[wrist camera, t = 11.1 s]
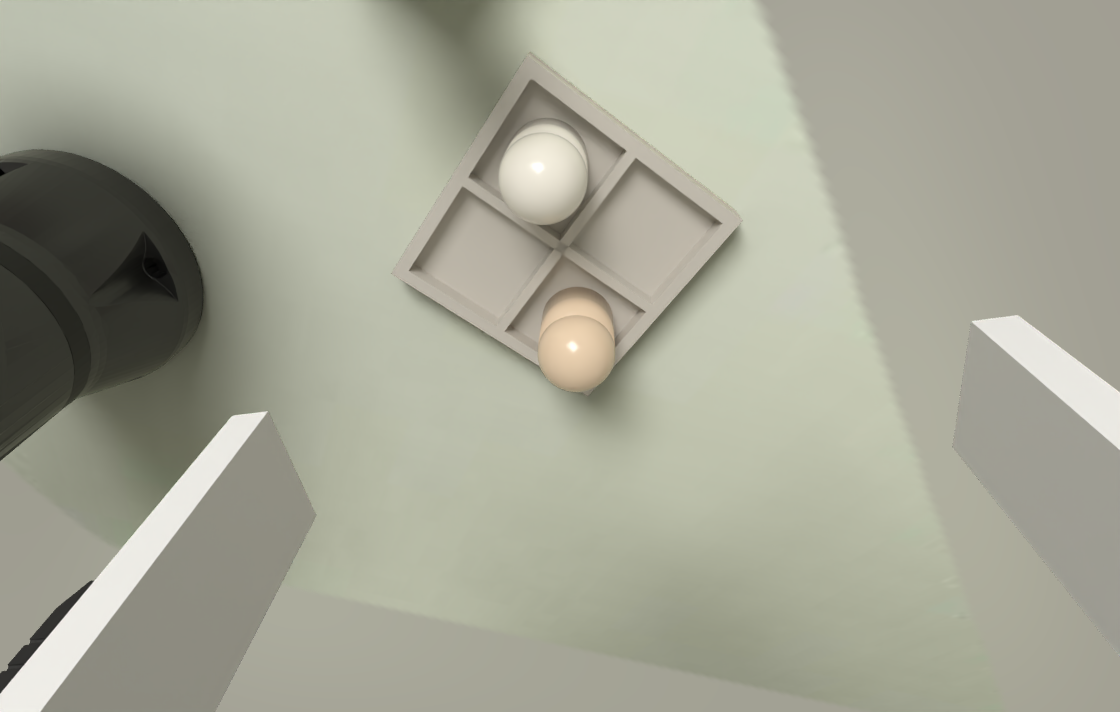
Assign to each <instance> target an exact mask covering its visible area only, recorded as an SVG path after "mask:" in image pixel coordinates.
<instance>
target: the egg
mask: <svg viewBox="0 0 1120 712" xmlns="http://www.w3.org/2000/svg"><path fill="white" fill-rule="evenodd" d="M615 353H616V352H615V339H614V326H613V314H612V310H611V307H610V305H609V303H608V302H607V301H606V299H605V298H604V297H603V296H602V295H600V294H599V293H597V292H596V291H594V290H592V289H589V288H584V287H570V288H566V289H563V290H561V291H559V292H557V293H556V294H554V295H553V296H552V297H551V298H550V299H549V300H548V302H547V303H546V305H545V307H544V310H543V314H542V321H541V328H540V335H539V343H538V362H539V365H540V368H541V370H542V372H543V374H544V375H545V377H546V378H547V379H548V380H549V381H550V382H551V383H552V384H554V385H555V386H556V387H558V388H560V389H563V390H566V391H570V392H583V391H587V390H590V389H593V388H595V387H596V386H598V385H599V384H601V383H602V382H603V381H604V380H605V379H606V378H607V377H608V375H609V374H610V372H611V370H612V368H613V365H614V362H615Z"/></svg>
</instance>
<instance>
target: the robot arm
mask: <svg viewBox="0 0 1120 712" xmlns="http://www.w3.org/2000/svg"><path fill="white" fill-rule="evenodd" d="M202 306H203V289H202V282H201V277H200V272H199V269H198V266H197V263H196V260H195V258H194V255H193V253H192V251H191V249H190V247H189V245H188V243H187V241H186V239H185V238H184V236H183V234H182V233H181V231H180V230H179V228H178V227H177V225H176V224H175V223H174V221H173V220H172V219H171V218H170V216H169V215H168V214H167V213H166V212H165V211H164V210H163V208H162V207H161V206H160V205H159V204H158V203H157V202H156V201H155V200H154V199H153V198H151V197H150V196H149V195H148V194H147V193H146V192H145V191H143V190H142V189H141V188H140V187H138V186H137V185H136V184H134V183H133V182H132V181H130V180H129V179H127V178H126V177H124V176H122V175H121V174H119V173H118V172H116V171H114V170H112V169H110V168H108V167H106V166H104V165H102V164H100V163H98V162H95V161H93V160H90V159H88V158H85V157H82V156H79V155H75V154H71V153H67V152H62V151H55V150H43V149H41V150H24V151H19V152H14V153H11V154H7V155H4V156H0V461H1V460H2V459H3V458H4V457H6V456H7V455H8V454H9V453H10V452H12V451H13V450H14V449H15V448H16V447H18V446H19V445H20V444H21V443H22V442H24V441H25V440H26V439H27V438H28V437H30V436H31V435H32V434H33V433H34V432H36V431H37V430H38V429H39V428H40V427H42V426H43V425H44V424H45V423H46V422H48V421H49V420H50V419H51V418H52V417H54V416H55V415H56V414H57V413H58V412H59V411H61V410H62V409H63V408H64V407H66V406H67V405H68V404H69V403H71V402H72V401H73V400H75V399H76V398H79V397H83V396H86V395H89V394H92V393H95V392H98V391H101V390H104V389H107V388H110V387H113V386H116V385H119V384H122V383H125V382H128V381H131V380H134V379H137V378H140V377H143V376H145V375H147V374H149V373H151V372H153V371H155V370H156V369H158V368H159V367H161V366H162V365H164V364H165V363H166V362H167V361H168V360H170V359H171V358H172V357H173V356H174V355H175V354H176V353H178V352H179V351H180V350H181V349H182V348H183V347H184V346H185V345H186V344H187V343H188V341H189V340H190V339H191V337H192V336H193V334H194V332H195V331H196V329H197V326H198V324H199V321H200V317H201V313H202ZM952 447H953V448H954V450H955V451H956V452H957V453H958V455H959V456H960V457H961V459H962V460H963V461H964V462H965V464H966V465H967V466H968V467H969V468H970V470H971V471H972V472H973V473H974V475H975V476H976V477H977V479H978V480H979V481H980V482H981V483H982V485H983V486H984V487H985V489H986V490H987V491H988V492H989V494H990V495H991V496H992V497H993V499H994V500H995V501H996V502H997V504H998V505H999V506H1000V507H1001V509H1002V510H1003V511H1004V512H1005V514H1006V515H1007V516H1008V518H1009V519H1010V520H1011V521H1012V523H1014V525H1015V526H1016V528H1017V529H1018V530H1019V531H1020V533H1021V534H1022V535H1023V536H1024V538H1025V539H1026V540H1027V541H1028V542H1029V544H1030V545H1031V546H1032V548H1033V549H1034V550H1035V551H1036V553H1037V554H1038V555H1039V556H1040V558H1041V559H1042V560H1043V561H1044V563H1045V564H1046V565H1047V566H1048V567H1049V569H1050V570H1051V571H1052V573H1053V574H1054V575H1055V576H1056V578H1057V579H1058V580H1059V581H1060V583H1061V584H1062V585H1063V586H1064V588H1065V589H1066V590H1067V591H1068V593H1069V594H1070V595H1071V596H1072V598H1073V599H1074V600H1075V601H1076V603H1077V604H1078V605H1079V607H1080V608H1081V609H1082V610H1083V612H1084V613H1085V614H1086V615H1087V617H1088V618H1089V619H1090V620H1091V622H1092V623H1093V624H1094V625H1095V627H1096V628H1097V629H1098V630H1099V632H1100V633H1101V634H1102V635H1103V637H1104V638H1105V639H1106V640H1107V642H1108V643H1109V644H1110V645H1111V647H1112V648H1113V649H1114V651H1115V652H1116V653H1117V654H1118V656H1119V657H1120V392H1118V391H1117V390H1116V389H1114V388H1113V387H1112V386H1111V385H1109V384H1108V383H1106V382H1105V381H1104V380H1103V379H1101V378H1100V377H1099V376H1097V375H1096V374H1095V373H1093V372H1092V371H1091V370H1089V369H1088V368H1087V367H1085V366H1084V365H1083V364H1081V363H1080V362H1079V361H1078V360H1076V359H1075V358H1074V357H1072V356H1071V355H1069V354H1068V353H1067V352H1066V351H1064V350H1063V349H1062V348H1060V347H1059V346H1058V345H1056V344H1055V343H1054V342H1052V341H1051V340H1050V339H1048V338H1047V337H1046V336H1044V335H1043V334H1042V333H1041V332H1039V331H1038V330H1037V329H1035V328H1034V327H1033V326H1031V325H1030V324H1028V323H1027V322H1026V321H1025V320H1023V319H1022V318H1021V317H1019V316H1018V315H1016V316H1008V317H1000V318H992V319H984V320H976V321H971V324H970V331H969V338H968V345H967V351H966V359H965V365H964V372H963V379H962V385H961V392H960V399H959V406H958V413H957V419H956V426H955V433H954V440H953V446H952ZM315 517H316V513H315V511H314V509H313V507H312V505H311V502H310V500H309V498H308V496H307V494H306V492H305V489H304V487H303V485H302V483H301V481H300V479H299V476H298V474H297V472H296V470H295V468H294V466H293V464H292V461H291V459H290V457H289V455H288V453H287V451H286V448H285V446H284V444H283V442H282V440H281V438H280V435H279V433H278V431H277V429H276V427H275V425H274V422H273V420H272V418H271V416H270V414H269V412H268V411H265V412H257V413H249V414H242V415H234V416H232V417H231V418H230V419H229V420H228V421H227V423H226V424H225V425H224V426H223V427H222V429H221V430H220V431H219V432H218V433H217V435H216V436H215V437H214V438H213V439H212V441H211V442H210V443H209V444H208V445H207V447H206V448H205V449H204V450H203V451H202V453H201V454H200V455H199V456H198V457H197V459H196V460H195V461H194V462H193V463H192V465H191V466H190V467H189V468H188V469H187V470H186V472H185V473H184V474H183V475H182V476H181V478H180V479H179V480H178V481H177V482H176V484H175V485H174V486H173V487H172V488H171V490H170V491H169V492H168V493H167V494H166V496H165V497H164V498H163V499H162V500H161V502H160V503H159V504H158V505H157V506H156V508H155V509H154V510H153V511H152V512H151V514H150V515H149V516H148V517H147V518H146V520H145V521H144V522H143V523H142V524H141V526H140V527H139V528H138V529H137V530H136V532H135V533H134V534H133V535H132V536H131V538H130V539H129V540H128V541H127V542H126V544H125V545H124V546H123V547H122V548H121V550H120V551H119V552H118V553H117V554H116V556H115V557H114V558H113V559H112V560H111V562H110V563H109V564H108V565H107V567H106V568H105V569H104V570H103V571H102V572H101V574H100V575H99V576H98V577H97V578H96V580H94V581H90V582H88V583H87V584H86V585H85V586H84V587H82V588H81V589H80V590H78V591H77V592H76V593H75V594H73V595H72V596H71V597H70V598H69V599H67V600H66V601H65V602H64V603H62V604H61V605H60V606H59V607H58V608H56V609H55V610H54V612H53V613H52V614H51V615H50V616H49V618H48V619H47V620H46V621H45V622H44V623H43V624H42V626H41V627H40V628H39V629H38V630H37V631H36V633H35V634H34V635H33V636H32V637H31V638H30V644H29V645H25V646H23V648H22V649H21V650H20V651H19V652H18V653H17V655H16V656H15V657H14V658H13V659H12V660H11V662H10V663H9V664H8V670H7V671H2V672H1V673H0V712H215V711H216V709H217V707H218V705H219V703H220V702H221V699H222V697H223V696H224V694H225V692H226V690H227V688H228V686H229V684H230V682H231V680H232V678H233V676H234V674H235V672H236V671H237V668H238V667H239V665H240V663H241V661H242V659H243V657H244V655H245V653H246V651H247V649H248V647H249V645H250V643H251V641H252V639H253V638H254V636H255V634H256V632H257V630H258V628H259V626H260V624H261V622H262V620H263V618H264V616H265V614H266V612H267V610H268V608H269V606H270V605H271V603H272V601H273V599H274V597H275V595H276V593H277V591H278V589H279V587H280V585H281V583H282V581H283V579H284V577H285V576H286V574H287V572H288V570H289V568H290V566H291V564H292V562H293V560H294V558H295V556H296V554H297V552H298V550H299V548H300V546H301V545H302V543H303V541H304V539H305V537H306V535H307V533H308V531H309V529H310V527H311V525H312V523H313V521H314V519H315Z"/></svg>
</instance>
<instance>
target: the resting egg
mask: <svg viewBox="0 0 1120 712" xmlns="http://www.w3.org/2000/svg"><path fill="white" fill-rule="evenodd" d="M587 180H588V157H587V150H586V146H585V143H584V141H583V139H582V137H581V136H580V134H579V133H578V132H577V131H576V130H575V129H574V128H573V127H572V126H571V125H569V124H568V123H566V122H564V121H562V120H559V119H555V118H539V119H535V120H532V121H530V122H528V123H526V124H525V125H524V126H522V127H521V128H520V129H519V130H518V131H517V132H516V134H515V135H514V137H513V138H512V140H511V142H510V144H509V146H508V148H507V150H506V152H505V154H504V156H503V158H502V161H501V163H500V167H499V172H498V184H499V190H500V193H501V196H502V198H503V200H504V202H505V204H506V205H507V207H508V208H509V209H510V210H511V211H512V212H513V213H514V214H515V215H516V216H517V217H519V218H520V219H522V220H524V221H526V222H529V223H532V224H538V225H549V224H554V223H557V222H560V221H562V220H564V219H566V218H567V217H569V216H570V215H571V214H572V213H573V212H574V211H575V210H576V209H577V208H578V207H579V205H580V204H581V202H582V200H583V198H584V196H585V192H586V189H587Z"/></svg>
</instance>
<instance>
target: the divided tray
mask: <svg viewBox="0 0 1120 712" xmlns="http://www.w3.org/2000/svg"><path fill="white" fill-rule="evenodd" d="M539 118H555V119H559V120H562V121H564V122H566V123H568V124H569V125H571V126H572V127H573V128H574V129H575V130H576V131H577V132H578V133H579V134H580V136H581V137H582V139H583V141H584V143H585V146H586V150H587V157H588V180H587V189H586V192H585V196H584V198H583V200H582V202H581V204H580V205H579V207H578V208H577V209H576V210H575V211H574V212H573V213H572V214H571V215H570V216H569V217H567V218H566V219H564V220H562V221H560V222H557V223H554V224H549V225H538V224H532V223H529V222H526V221H524V220H522V219H520V218H519V217H517V216H516V215H515V214H514V213H513V212H512V211H511V210H510V209H509V208H508V207H507V205H506V204H505V202H504V200H503V198H502V196H501V193H500V190H499V184H498V172H499V167H500V163H501V161H502V158H503V156H504V154H505V152H506V150H507V148H508V146H509V144H510V142H511V140H512V138H513V137H514V135H515V134H516V132H517V131H518V130H519V129H520V128H521V127H522V126H524V125H525V124H526V123H528V122H530V121H532V120H535V119H539ZM741 222H742V219H741V218H740V216H739V215H738V213H737V212H736V210H735V209H733V208H732V207H731V206H729V205H728V204H727V203H725V202H724V201H723V200H722V199H720V198H719V197H718V196H716V195H715V194H714V193H712V192H711V191H710V190H709V189H707V188H706V187H705V186H703V185H702V184H701V183H700V182H698V181H697V180H696V179H694V178H693V177H692V176H690V175H689V174H688V173H687V172H685V171H684V170H683V169H681V168H680V167H679V166H677V165H676V164H675V163H674V162H672V161H671V160H670V159H668V158H667V157H666V156H664V155H663V154H662V153H661V152H659V151H658V150H657V149H655V148H654V147H653V146H652V145H650V144H649V143H648V142H646V141H645V140H644V139H642V138H641V137H640V136H639V135H637V134H636V133H635V132H633V131H632V130H631V129H629V128H628V127H627V126H626V125H624V124H623V123H622V122H620V121H619V120H618V119H616V118H615V117H614V116H613V115H611V114H610V113H609V112H607V111H606V110H605V109H604V108H602V107H601V106H600V105H598V104H597V103H596V102H594V101H593V100H592V99H591V98H589V97H588V96H587V95H585V94H584V93H583V92H581V91H580V90H579V89H578V88H576V87H575V86H574V85H572V84H571V83H570V82H569V81H567V80H566V79H565V78H563V77H562V76H561V75H559V74H558V73H557V72H556V71H554V70H553V69H552V68H550V67H549V66H548V65H546V64H545V63H544V62H543V61H541V60H540V59H539V58H537V57H536V56H535V55H533V54H532V53H531V52H529V53H528V54H527V56H526V57H525V59H524V60H523V62H522V64H521V65H520V67H519V68H518V70H517V72H516V73H515V75H514V77H513V78H512V80H511V81H510V83H509V85H508V86H507V88H506V89H505V91H504V93H503V94H502V96H501V97H500V99H499V101H498V102H497V104H496V105H495V107H494V109H493V110H492V112H491V113H490V115H489V117H488V118H487V120H486V122H485V123H484V125H483V126H482V128H481V130H480V131H479V133H478V134H477V136H476V138H475V139H474V141H473V142H472V144H471V146H470V147H469V149H468V150H467V152H466V154H465V155H464V157H463V158H462V160H461V162H460V163H459V165H458V166H457V168H456V170H455V171H454V173H453V175H452V176H451V178H450V179H449V181H448V183H447V184H446V186H445V187H444V189H443V191H442V192H441V194H440V195H439V197H438V199H437V200H436V202H435V203H434V205H433V207H432V208H431V210H430V211H429V213H428V215H427V216H426V218H425V220H424V221H423V223H422V224H421V226H420V228H419V229H418V231H417V232H416V234H415V236H414V237H413V239H412V240H411V242H410V244H409V245H408V247H407V248H406V250H405V252H404V253H403V255H402V256H401V258H400V260H399V261H398V263H397V265H396V266H395V268H394V269H393V271H392V273H391V274H392V275H394V276H396V277H397V278H399V279H400V280H402V281H404V282H405V283H407V284H408V285H410V286H412V287H413V288H415V289H416V290H418V291H420V292H421V293H423V294H424V295H426V296H428V297H429V298H431V299H432V300H434V301H436V302H437V303H439V304H440V305H442V306H444V307H445V308H447V309H448V310H450V311H452V312H453V313H455V314H456V315H458V316H460V317H461V318H463V319H464V320H466V321H468V322H469V323H471V324H472V325H474V326H476V327H477V328H479V329H480V330H482V331H484V332H485V333H487V334H488V335H490V336H492V337H493V338H495V339H496V340H498V341H500V342H501V343H503V344H504V345H506V346H508V347H509V348H511V349H512V350H514V351H516V352H517V353H519V354H520V355H522V356H524V357H525V358H527V359H528V360H530V361H532V362H533V363H535V364H536V365H538V366H540V365H539V362H538V343H539V335H540V328H541V321H542V314H543V310H544V307H545V305H546V303H547V302H548V300H549V299H550V298H551V297H552V296H553V295H554V294H556V293H557V292H559V291H561V290H563V289H566V288H570V287H584V288H589V289H592V290H594V291H596V292H597V293H599V294H600V295H602V296H603V297H604V298H605V299H606V301H607V302H608V303H609V305H610V307H611V310H612V314H613V326H614V339H615V352H616V353H615V362H614V365H613V367H614V366H615V365H616V364H617V363H618V362H619V360H620V359H621V358H622V357H623V356H624V355H625V354H626V352H627V351H628V350H629V349H630V348H631V347H632V346H633V345H634V343H635V342H636V341H637V340H638V339H639V338H640V337H641V335H642V334H643V333H644V332H645V331H646V330H647V329H648V328H649V326H650V325H651V324H652V323H653V322H654V321H655V320H656V318H657V317H658V316H659V315H660V314H661V313H662V312H663V310H664V309H665V308H666V307H667V306H668V305H669V304H670V303H671V301H672V300H673V299H674V298H675V297H676V296H677V295H678V293H679V292H680V291H681V290H682V289H683V288H684V287H685V285H686V284H687V283H688V282H689V281H690V280H691V279H692V278H693V276H694V275H695V274H696V273H697V272H698V271H699V270H700V268H701V267H702V266H703V265H704V264H705V263H706V262H707V261H708V259H709V258H710V257H711V256H712V255H713V254H714V253H715V251H716V250H717V249H718V248H719V247H720V246H721V245H722V243H723V242H724V241H725V240H726V239H727V238H728V237H729V236H730V234H731V233H732V232H733V231H734V230H735V229H736V228H737V226H738V225H739V224H740V223H741ZM596 387H597V386H596ZM596 387H595V388H596ZM595 388H593V389H590V390H587V391H583V392H581V393H583V394H584V395H586V396H589V395H590V393H591V392H592V391H593V390H594V389H595Z"/></svg>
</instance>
